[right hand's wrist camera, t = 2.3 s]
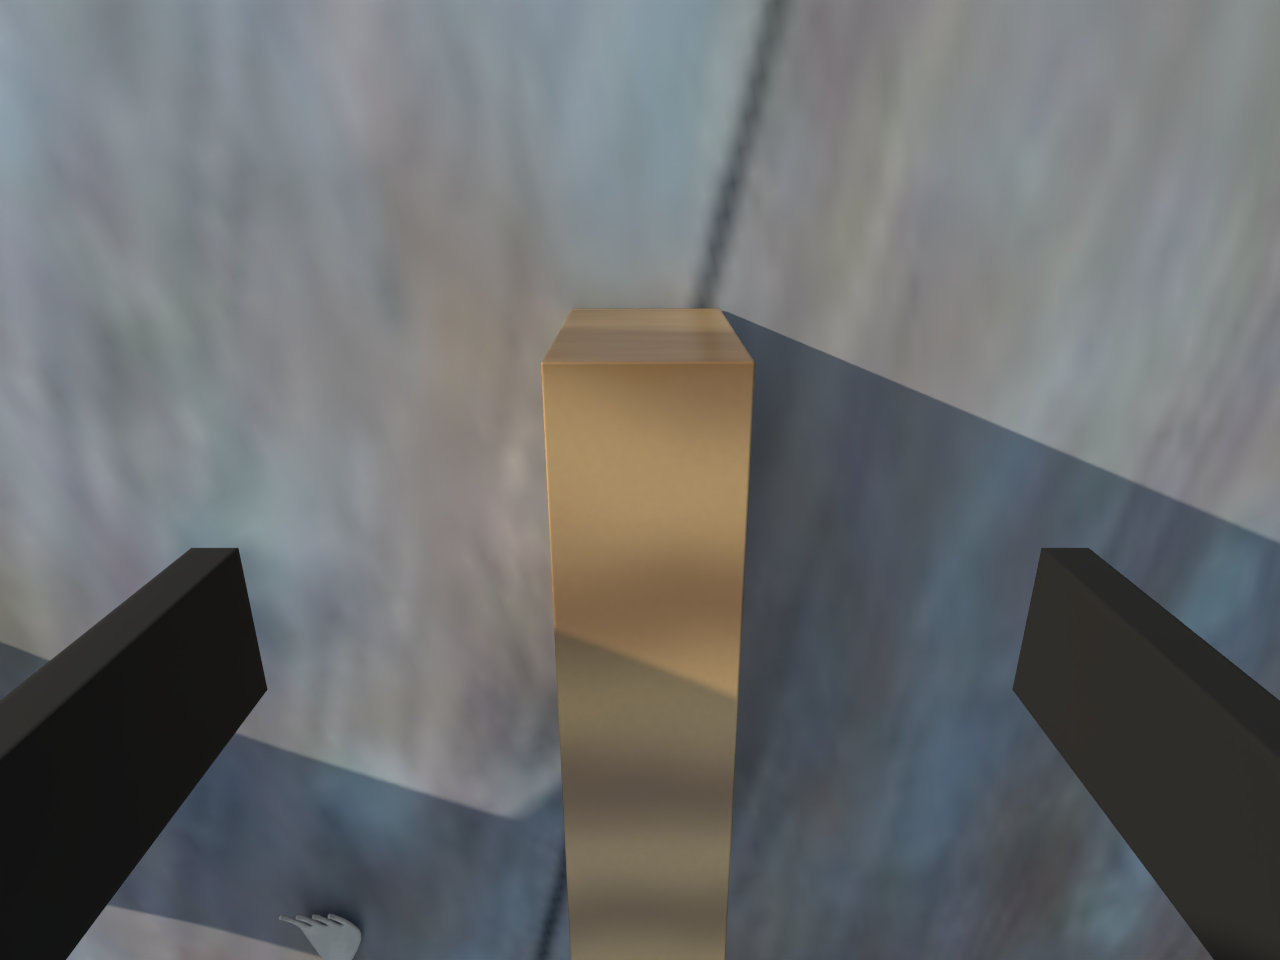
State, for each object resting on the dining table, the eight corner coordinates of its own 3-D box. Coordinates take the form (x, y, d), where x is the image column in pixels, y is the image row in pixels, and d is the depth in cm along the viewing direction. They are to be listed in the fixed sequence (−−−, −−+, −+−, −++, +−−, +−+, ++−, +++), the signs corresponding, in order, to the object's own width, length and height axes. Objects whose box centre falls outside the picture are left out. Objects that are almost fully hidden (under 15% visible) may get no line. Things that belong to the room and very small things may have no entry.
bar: (571, 308, 26) (540, 362, 18) (720, 308, 26) (755, 361, 18) (589, 833, 34) (574, 1030, 26) (703, 833, 34) (721, 1030, 26)
